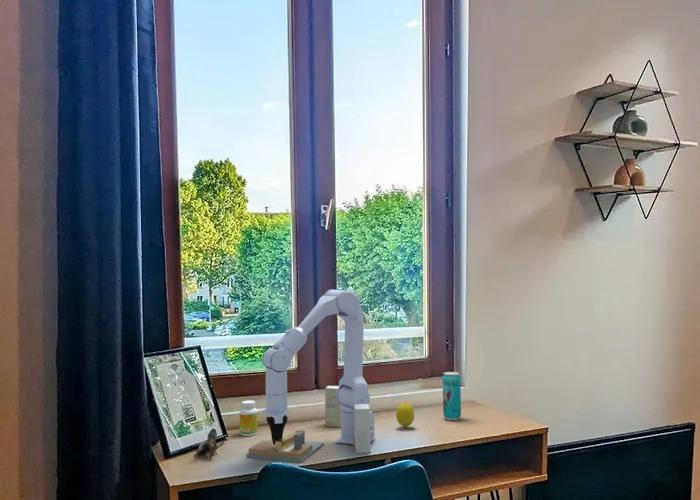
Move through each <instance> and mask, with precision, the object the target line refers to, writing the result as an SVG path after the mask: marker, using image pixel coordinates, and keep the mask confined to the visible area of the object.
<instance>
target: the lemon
mask: <svg viewBox="0 0 700 500" xmlns="http://www.w3.org/2000/svg"><path fill="white" fill-rule="evenodd" d="M414 419H415V412H414V408H413V407H412V405H411V404H410V403H408V402H406V401H404V402H403V403H400V405H398V407H397V409H396V421H397V423H398V424H399V425H400V426H402V427H403V428H404V429H407V428H408V427H409V426H410V425H412V423H413V422H414V421H415V420H414Z"/></svg>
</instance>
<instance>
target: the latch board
mask: <svg viewBox="0 0 700 500" xmlns="http://www.w3.org/2000/svg"><path fill="white" fill-rule="evenodd" d="M324 446H325V442H323V441H312V440H305V444H302V434H299V433H296V434H295V435H294V444H293V445H291V446H289V447H287V448H285V449H283V450H278V449H275V445H273V441H272V438H270V439H269V440H261V441H260V442H258V443H256V444H255V445H253V446H251V447H249V448H248V452H247V453H246V458H253V459H260V460H261V459H264V460H272V461H273V460H274V461H284V462H290V463H291V462H293V463H304V461H306V460H307V459H308V458H310V457H311V456H312V455H313V454H315V453H316V452H317V451H319V450H320V449H322V448H323V447H324Z"/></svg>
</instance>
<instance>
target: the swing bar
mask: <svg viewBox="0 0 700 500" xmlns="http://www.w3.org/2000/svg"><path fill="white" fill-rule="evenodd" d="M296 433H299V434H302V444H305V441H306V440H305V439H306V433H305V430H304V429H303V430H301V429H300V430H295V431H294V432H292V433H290V434H288V435H286V436H284V437H282V438H281V439H279V440H277V441H275V449H278V450H283V449H285V448H287V447H289V446H291V445H293V444H294V435H295V434H296Z"/></svg>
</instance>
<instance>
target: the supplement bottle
mask: <svg viewBox="0 0 700 500" xmlns="http://www.w3.org/2000/svg"><path fill="white" fill-rule="evenodd" d="M241 407H242V408H241V409H240V410H239V434H240V435H241V436H243V437H250V436H251V437H252V436H255V435H258V428H259V427H258V423H259V422H258V421H259V419H258V413H259V411H258V409H257V408H256V401H255V400H244V401H242V402H241Z"/></svg>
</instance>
